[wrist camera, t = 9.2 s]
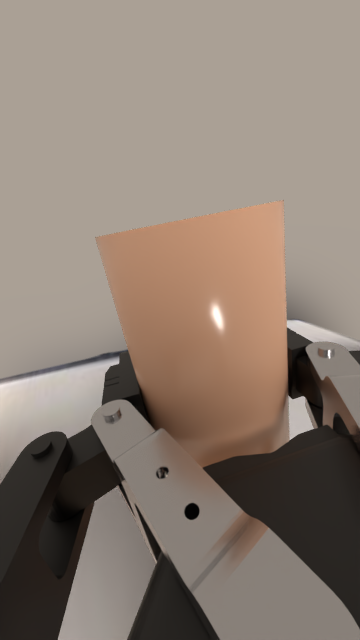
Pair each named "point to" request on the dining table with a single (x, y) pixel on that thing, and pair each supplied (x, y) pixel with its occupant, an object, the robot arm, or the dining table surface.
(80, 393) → the dining table surface
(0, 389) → the dining table surface
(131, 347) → the peach cylinder
